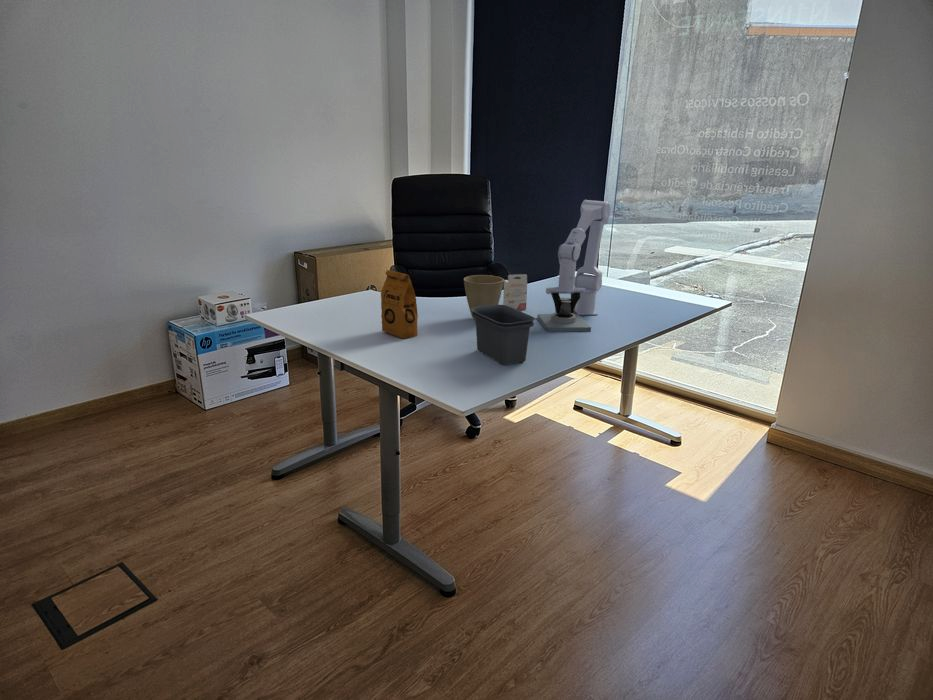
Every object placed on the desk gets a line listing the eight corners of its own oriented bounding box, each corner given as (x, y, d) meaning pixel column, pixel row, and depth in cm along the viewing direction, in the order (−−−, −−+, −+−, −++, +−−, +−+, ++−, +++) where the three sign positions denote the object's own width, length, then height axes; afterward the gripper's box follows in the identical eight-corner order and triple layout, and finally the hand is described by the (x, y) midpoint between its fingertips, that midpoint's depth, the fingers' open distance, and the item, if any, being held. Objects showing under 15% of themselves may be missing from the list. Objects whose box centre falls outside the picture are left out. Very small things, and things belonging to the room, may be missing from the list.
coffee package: (399, 341, 203) (398, 277, 195) (378, 332, 211) (376, 271, 204) (422, 335, 209) (422, 273, 202) (400, 327, 218) (399, 267, 210)
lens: (555, 315, 227) (557, 297, 225) (568, 315, 228) (570, 297, 225) (559, 319, 222) (560, 301, 220) (572, 319, 223) (574, 301, 221)
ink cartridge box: (521, 306, 249) (523, 271, 244) (526, 309, 244) (528, 274, 239) (502, 307, 247) (503, 272, 242) (506, 310, 242) (508, 275, 237)
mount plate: (537, 317, 234) (538, 308, 233) (577, 317, 235) (578, 308, 234) (547, 331, 217) (548, 322, 216) (590, 331, 218) (591, 322, 217)
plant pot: (499, 314, 237) (501, 274, 231) (504, 325, 223) (506, 283, 217) (461, 314, 235) (462, 274, 230) (464, 325, 221) (465, 283, 216)
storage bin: (465, 349, 197) (466, 307, 192) (505, 342, 204) (507, 302, 199) (500, 370, 179) (502, 324, 175) (542, 362, 187) (545, 318, 182)
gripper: (550, 279, 216) (547, 315, 220) (589, 279, 217) (586, 315, 222) (545, 274, 222) (543, 310, 227) (584, 275, 224) (580, 310, 228)
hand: (564, 312), depth 225 cm, fingers closed on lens, 5 cm apart
